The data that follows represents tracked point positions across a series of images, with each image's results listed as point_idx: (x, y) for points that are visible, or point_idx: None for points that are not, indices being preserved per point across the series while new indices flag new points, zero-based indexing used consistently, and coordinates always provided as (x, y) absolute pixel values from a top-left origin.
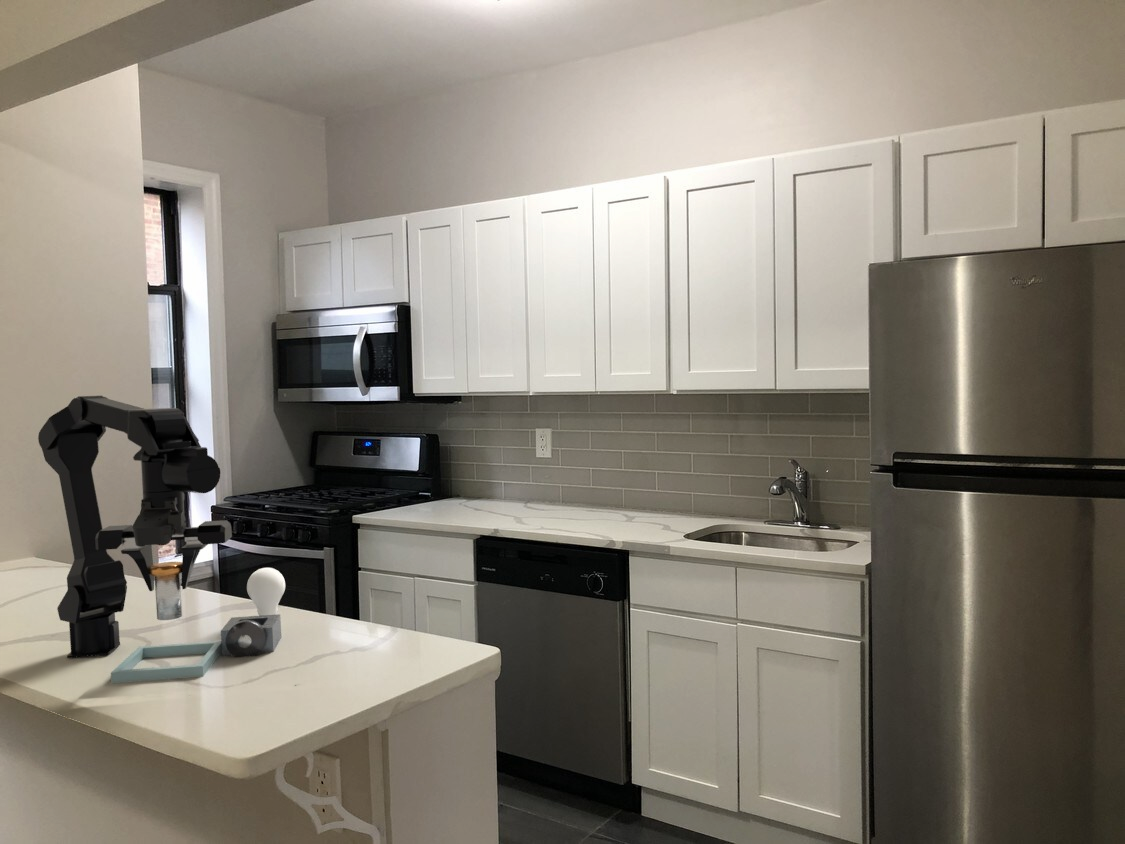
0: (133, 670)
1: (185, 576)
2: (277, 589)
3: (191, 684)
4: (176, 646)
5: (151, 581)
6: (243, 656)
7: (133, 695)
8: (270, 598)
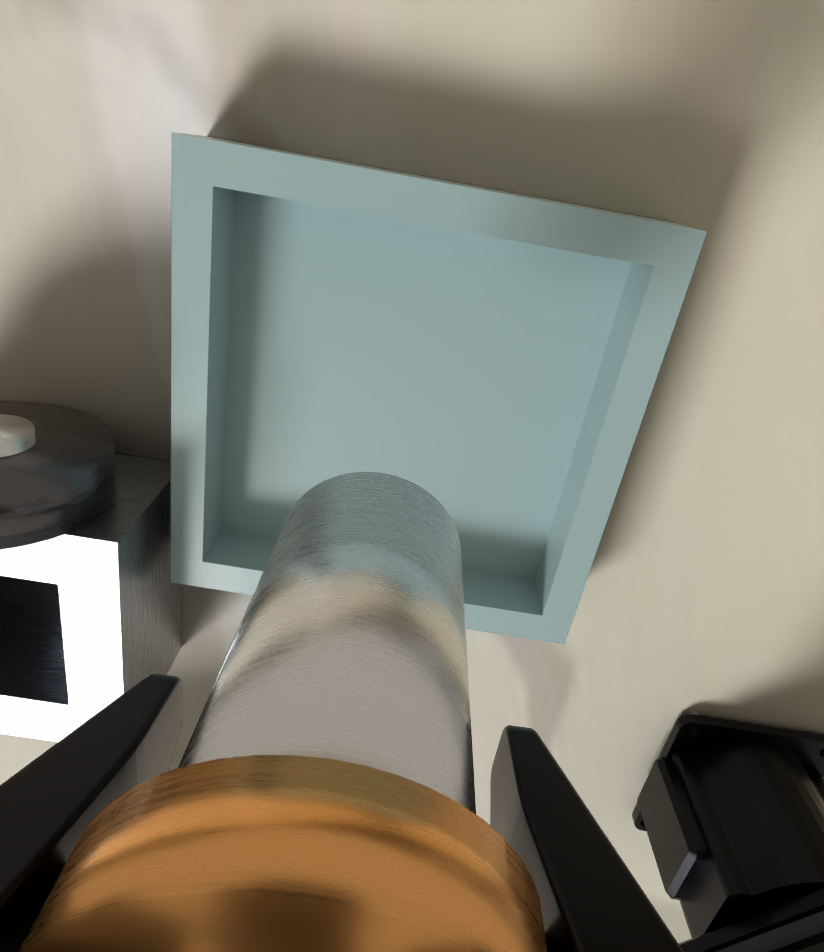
0: (580, 223)
1: (47, 778)
2: None
3: (269, 133)
4: None
5: (518, 821)
6: (55, 413)
7: (563, 53)
8: None
